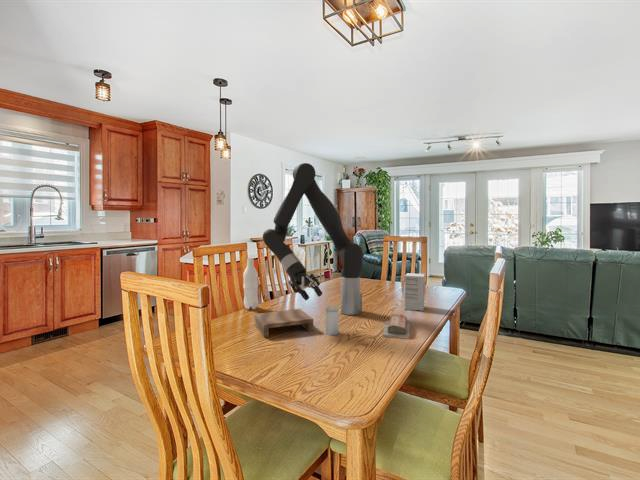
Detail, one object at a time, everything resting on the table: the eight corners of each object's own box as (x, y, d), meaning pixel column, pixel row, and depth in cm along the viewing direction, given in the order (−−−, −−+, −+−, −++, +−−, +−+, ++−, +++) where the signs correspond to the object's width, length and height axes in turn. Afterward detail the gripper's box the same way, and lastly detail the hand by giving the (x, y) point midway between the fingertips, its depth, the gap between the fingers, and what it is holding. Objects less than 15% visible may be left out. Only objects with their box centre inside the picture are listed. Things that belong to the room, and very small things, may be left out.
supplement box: (423, 311, 169) (424, 276, 168) (404, 309, 172) (404, 275, 171) (424, 306, 178) (425, 273, 177) (405, 305, 181) (406, 272, 180)
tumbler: (335, 330, 142) (335, 305, 141) (340, 334, 137) (340, 308, 136) (323, 331, 140) (323, 307, 139) (328, 335, 135) (328, 310, 135)
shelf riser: (300, 320, 156) (300, 308, 155) (313, 331, 141) (313, 318, 141) (255, 325, 148) (254, 313, 148) (264, 337, 133) (263, 324, 133)
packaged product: (386, 312, 151) (410, 314, 148) (386, 323, 151) (410, 325, 149) (382, 325, 134) (409, 327, 131) (382, 337, 134) (409, 340, 131)
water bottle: (255, 310, 171) (254, 259, 169) (241, 309, 173) (240, 259, 171) (260, 306, 178) (259, 257, 176) (247, 306, 180) (246, 257, 178)
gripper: (286, 262, 142) (308, 294, 136) (308, 259, 153) (330, 288, 147) (276, 274, 145) (297, 306, 139) (299, 270, 157) (320, 299, 150)
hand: (314, 297), depth 143 cm, fingers open, 8 cm apart
